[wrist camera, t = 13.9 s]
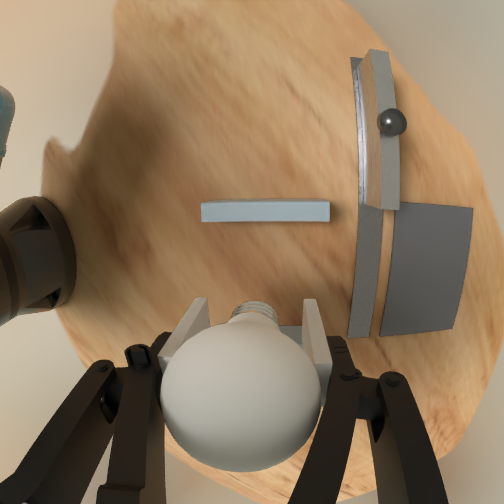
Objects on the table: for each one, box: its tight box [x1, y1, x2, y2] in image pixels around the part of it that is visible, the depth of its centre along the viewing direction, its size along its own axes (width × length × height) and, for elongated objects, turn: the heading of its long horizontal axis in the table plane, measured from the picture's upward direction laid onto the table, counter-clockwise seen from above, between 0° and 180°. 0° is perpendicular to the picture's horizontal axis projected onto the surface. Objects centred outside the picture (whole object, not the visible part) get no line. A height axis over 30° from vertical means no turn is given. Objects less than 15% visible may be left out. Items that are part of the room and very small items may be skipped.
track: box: [347, 57, 383, 338], centre depth 23 cm, size 2×28×1 cm, turn 1°
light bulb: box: [160, 300, 321, 472], centre depth 12 cm, size 7×7×11 cm
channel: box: [201, 199, 330, 350], centre depth 24 cm, size 10×14×4 cm
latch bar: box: [357, 49, 407, 210], centre depth 19 cm, size 2×13×6 cm, turn 2°
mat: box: [379, 202, 473, 337], centre depth 24 cm, size 10×14×1 cm
